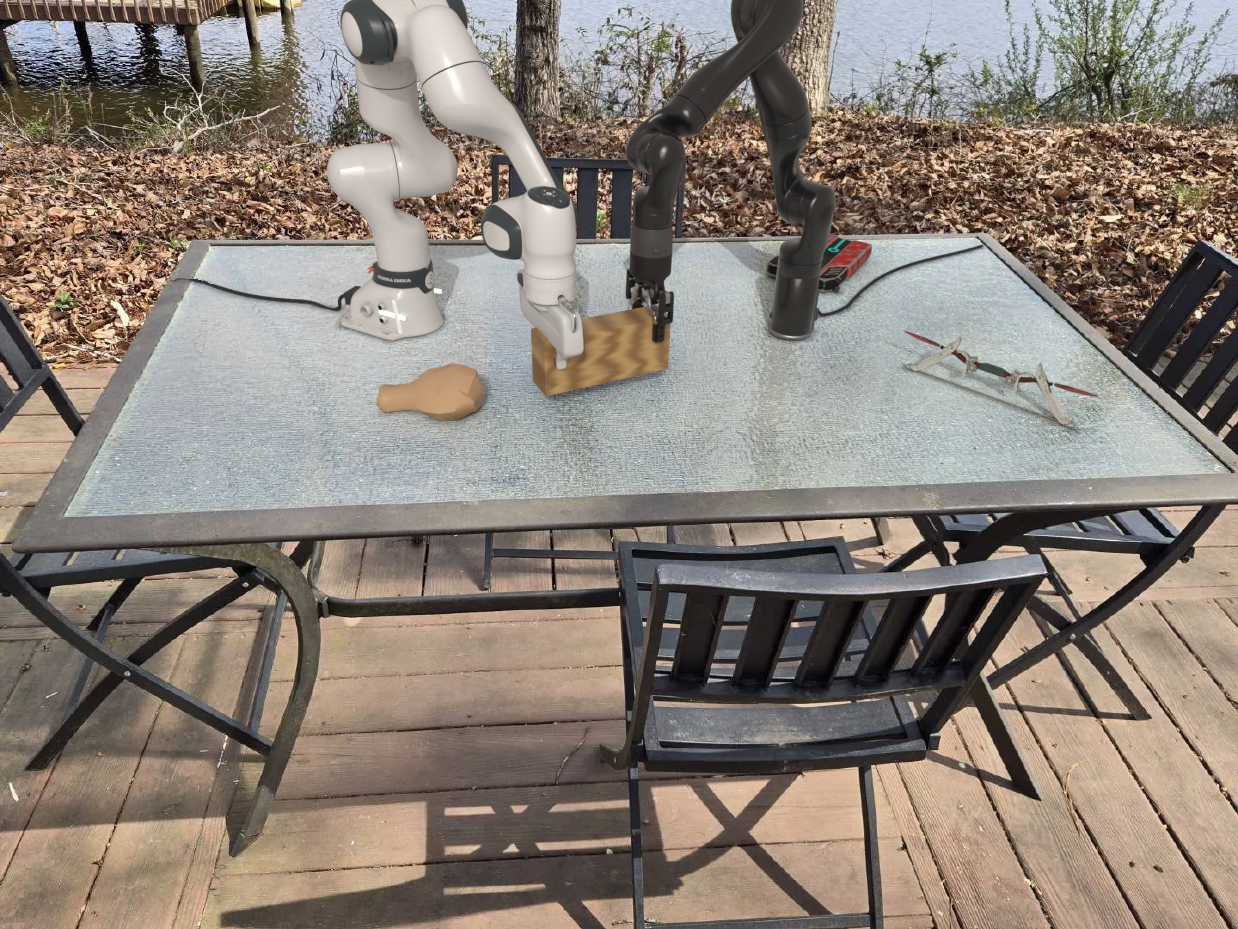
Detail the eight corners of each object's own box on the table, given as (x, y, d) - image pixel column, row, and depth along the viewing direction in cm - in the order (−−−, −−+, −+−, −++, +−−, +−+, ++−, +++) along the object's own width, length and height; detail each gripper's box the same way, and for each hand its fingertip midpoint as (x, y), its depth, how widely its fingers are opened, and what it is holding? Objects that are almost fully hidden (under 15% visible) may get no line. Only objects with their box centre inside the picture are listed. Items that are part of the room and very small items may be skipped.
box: (545, 396, 158) (544, 342, 152) (532, 381, 162) (530, 328, 156) (668, 368, 167) (671, 316, 161) (652, 355, 172) (655, 304, 166)
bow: (1087, 429, 164) (1105, 382, 158) (1083, 433, 163) (1101, 385, 157) (899, 362, 185) (909, 318, 180) (895, 365, 184) (904, 321, 179)
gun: (763, 262, 220) (837, 280, 212) (808, 226, 242) (876, 242, 234) (761, 279, 222) (834, 298, 214) (805, 242, 244) (873, 258, 236)
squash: (485, 427, 160) (474, 388, 154) (378, 435, 161) (363, 397, 155) (491, 389, 168) (481, 351, 162) (390, 398, 169) (376, 360, 163)
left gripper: (593, 305, 144) (592, 380, 151) (545, 263, 159) (546, 333, 166) (557, 312, 141) (558, 387, 149) (512, 268, 156) (515, 339, 164)
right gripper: (690, 258, 152) (683, 344, 161) (650, 233, 162) (646, 314, 171) (651, 265, 149) (647, 351, 158) (614, 238, 159) (612, 321, 168)
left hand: (552, 358), depth 158 cm, fingers closed on box, 6 cm apart
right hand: (647, 332), depth 164 cm, fingers open, 8 cm apart
